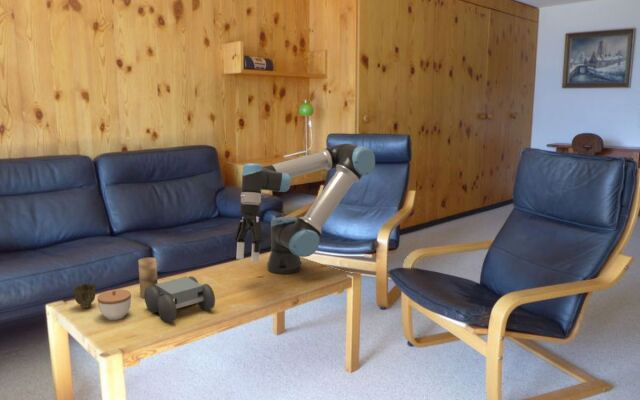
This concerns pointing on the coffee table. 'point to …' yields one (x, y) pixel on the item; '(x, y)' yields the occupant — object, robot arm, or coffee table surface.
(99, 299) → the lidded jar
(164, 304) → the trolley
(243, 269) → the coffee table surface
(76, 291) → the dark brown textured bowl
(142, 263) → the tan wooden cylinder
